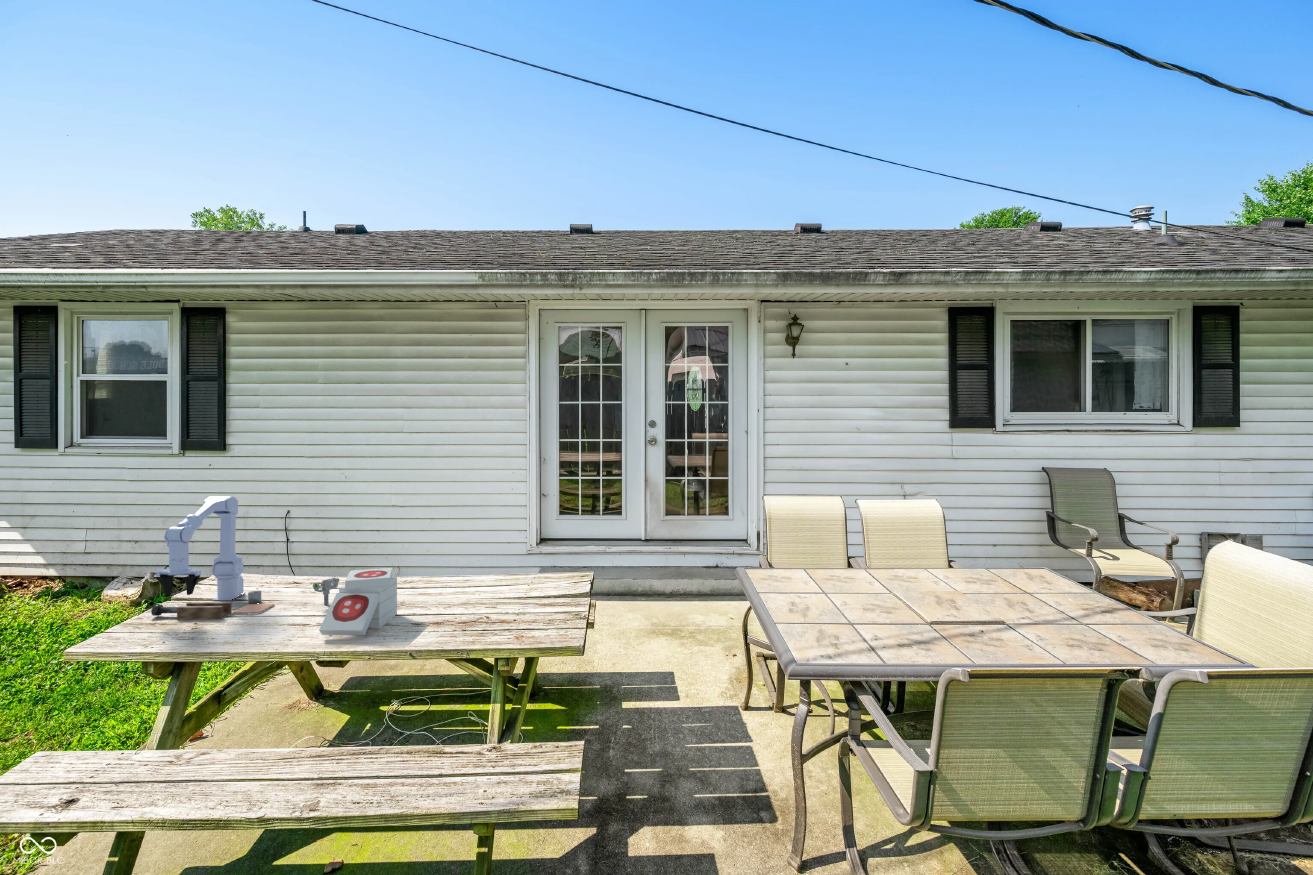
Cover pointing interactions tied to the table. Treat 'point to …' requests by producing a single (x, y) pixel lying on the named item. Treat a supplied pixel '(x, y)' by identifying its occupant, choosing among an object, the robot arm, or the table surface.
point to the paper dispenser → (362, 603)
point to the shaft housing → (204, 610)
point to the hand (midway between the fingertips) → (179, 594)
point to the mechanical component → (326, 587)
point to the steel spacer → (254, 597)
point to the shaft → (162, 610)
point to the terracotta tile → (253, 608)
